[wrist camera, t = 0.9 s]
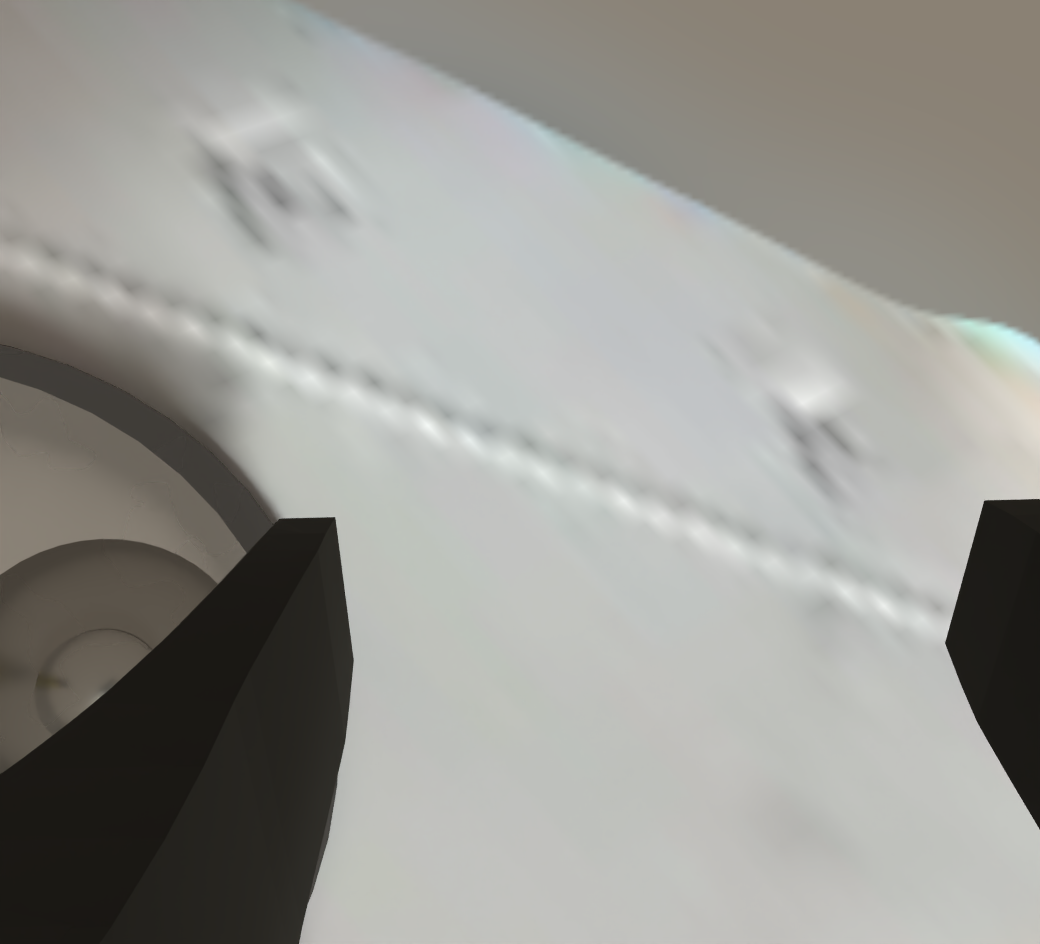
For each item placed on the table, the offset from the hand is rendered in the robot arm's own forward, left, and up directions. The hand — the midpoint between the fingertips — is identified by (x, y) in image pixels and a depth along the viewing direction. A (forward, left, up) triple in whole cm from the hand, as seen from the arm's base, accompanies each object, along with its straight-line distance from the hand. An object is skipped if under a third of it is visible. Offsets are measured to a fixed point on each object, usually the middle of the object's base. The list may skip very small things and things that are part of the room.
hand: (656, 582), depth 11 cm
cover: (-4, +6, -13) cm, 15 cm away
